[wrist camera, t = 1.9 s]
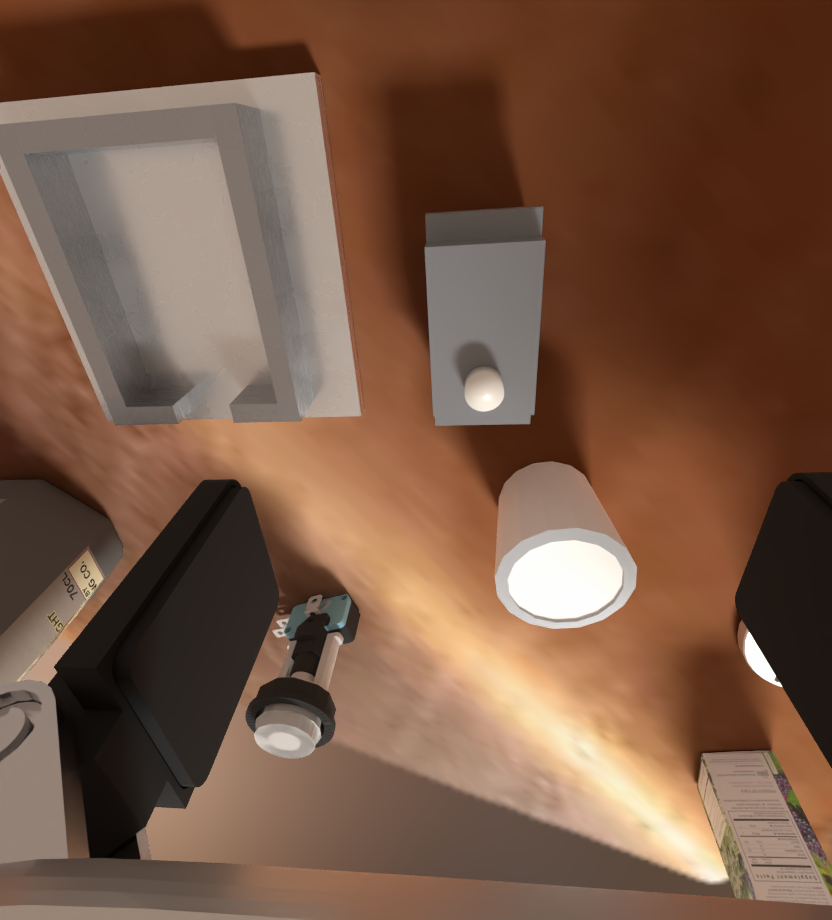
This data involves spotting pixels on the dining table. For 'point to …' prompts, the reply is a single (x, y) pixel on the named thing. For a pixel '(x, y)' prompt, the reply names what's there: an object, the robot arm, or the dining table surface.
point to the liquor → (46, 568)
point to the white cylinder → (558, 550)
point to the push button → (303, 679)
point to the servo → (484, 313)
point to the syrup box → (762, 829)
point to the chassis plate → (192, 246)
